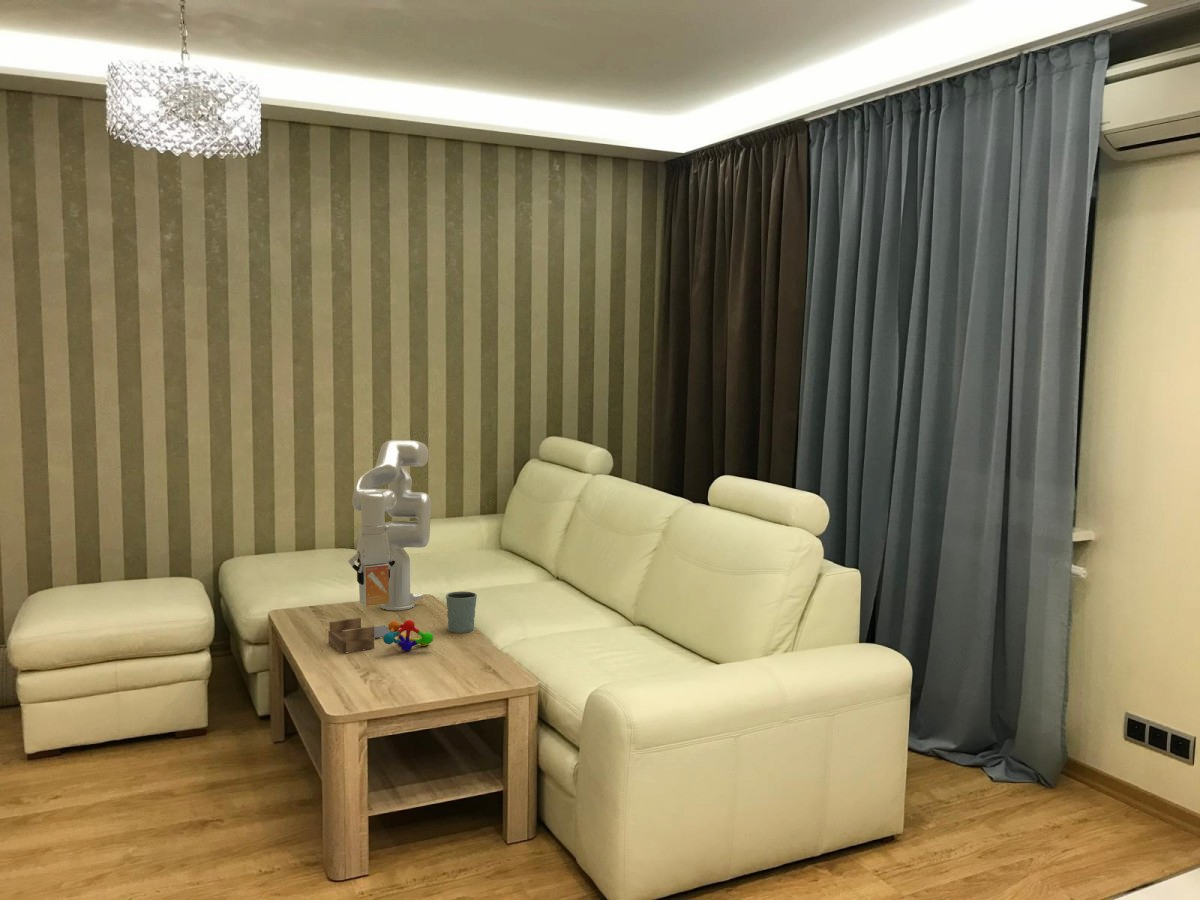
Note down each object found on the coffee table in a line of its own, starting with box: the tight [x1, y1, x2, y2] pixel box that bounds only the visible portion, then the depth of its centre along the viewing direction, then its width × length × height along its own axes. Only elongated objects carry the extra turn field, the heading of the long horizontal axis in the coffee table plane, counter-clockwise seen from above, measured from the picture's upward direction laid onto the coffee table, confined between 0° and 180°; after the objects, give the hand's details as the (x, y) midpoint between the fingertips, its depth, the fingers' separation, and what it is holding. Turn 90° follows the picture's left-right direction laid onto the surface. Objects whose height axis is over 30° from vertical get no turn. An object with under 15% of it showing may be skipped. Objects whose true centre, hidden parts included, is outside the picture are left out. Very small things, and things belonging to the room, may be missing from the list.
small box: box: [358, 564, 389, 607], centre depth 338 cm, size 8×6×13 cm
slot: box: [327, 617, 375, 654], centre depth 326 cm, size 10×13×7 cm
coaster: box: [374, 625, 395, 639], centre depth 340 cm, size 12×12×1 cm
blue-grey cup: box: [445, 591, 478, 634], centre depth 346 cm, size 10×10×12 cm
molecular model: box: [382, 619, 434, 652], centre depth 323 cm, size 15×10×15 cm
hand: (373, 582), depth 338 cm, fingers closed on small box, 8 cm apart
